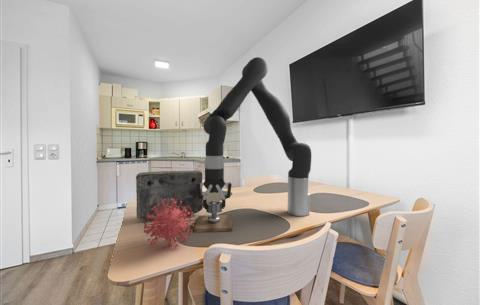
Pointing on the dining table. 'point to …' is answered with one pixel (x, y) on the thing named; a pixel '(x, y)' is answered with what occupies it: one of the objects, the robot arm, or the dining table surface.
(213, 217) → the post
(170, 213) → the virus model
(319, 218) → the dining table surface
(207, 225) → the board
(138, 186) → the concrete block
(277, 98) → the robot arm
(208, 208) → the ring
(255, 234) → the dining table surface
